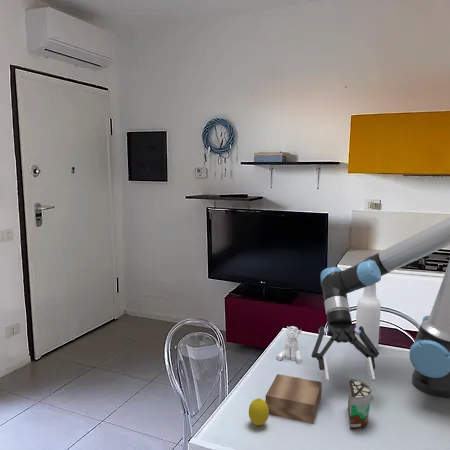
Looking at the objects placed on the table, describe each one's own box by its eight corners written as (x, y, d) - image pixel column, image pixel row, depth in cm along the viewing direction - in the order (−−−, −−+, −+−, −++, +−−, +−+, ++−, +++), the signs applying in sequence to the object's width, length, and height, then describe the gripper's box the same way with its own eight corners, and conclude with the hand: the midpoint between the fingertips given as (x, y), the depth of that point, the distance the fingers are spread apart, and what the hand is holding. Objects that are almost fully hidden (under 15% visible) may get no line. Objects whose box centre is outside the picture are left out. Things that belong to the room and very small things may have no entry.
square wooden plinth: (321, 400, 140) (321, 382, 139) (313, 424, 127) (314, 405, 126) (276, 391, 145) (277, 373, 144) (265, 414, 132) (265, 395, 131)
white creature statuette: (275, 360, 166) (276, 329, 165) (280, 351, 175) (281, 321, 173) (301, 364, 164) (302, 332, 162) (305, 354, 172) (306, 324, 170)
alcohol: (351, 343, 182) (355, 270, 178) (372, 343, 183) (376, 270, 179) (359, 353, 174) (364, 276, 169) (381, 352, 175) (387, 276, 170)
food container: (373, 435, 122) (376, 400, 121) (350, 432, 123) (352, 398, 122) (369, 410, 134) (371, 378, 133) (347, 408, 135) (349, 376, 134)
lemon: (254, 433, 122) (254, 405, 121) (245, 422, 127) (245, 395, 126) (272, 428, 125) (272, 401, 123) (262, 418, 130) (263, 391, 128)
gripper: (372, 318, 149) (387, 384, 137) (297, 318, 148) (305, 384, 136) (380, 308, 143) (395, 376, 131) (301, 308, 142) (310, 376, 130)
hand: (349, 380), depth 133 cm, fingers open, 13 cm apart
